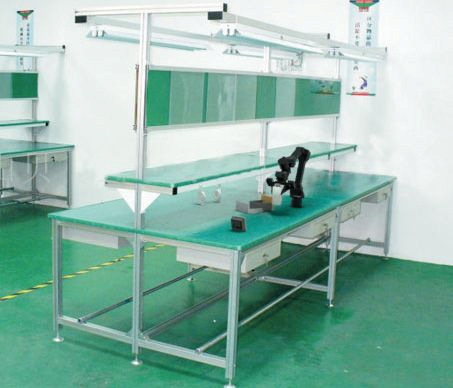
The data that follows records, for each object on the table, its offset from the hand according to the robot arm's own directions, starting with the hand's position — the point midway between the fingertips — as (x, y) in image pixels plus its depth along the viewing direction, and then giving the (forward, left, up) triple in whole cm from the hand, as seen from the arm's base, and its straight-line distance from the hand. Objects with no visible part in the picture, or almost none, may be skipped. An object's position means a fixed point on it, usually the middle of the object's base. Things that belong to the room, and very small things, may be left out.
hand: (276, 193), depth 407 cm
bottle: (-1, -1, -7) cm, 7 cm away
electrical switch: (+40, +35, -14) cm, 55 cm away
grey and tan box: (+3, -16, -13) cm, 21 cm away
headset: (+27, -42, -14) cm, 52 cm away
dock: (+11, -14, -13) cm, 22 cm away
